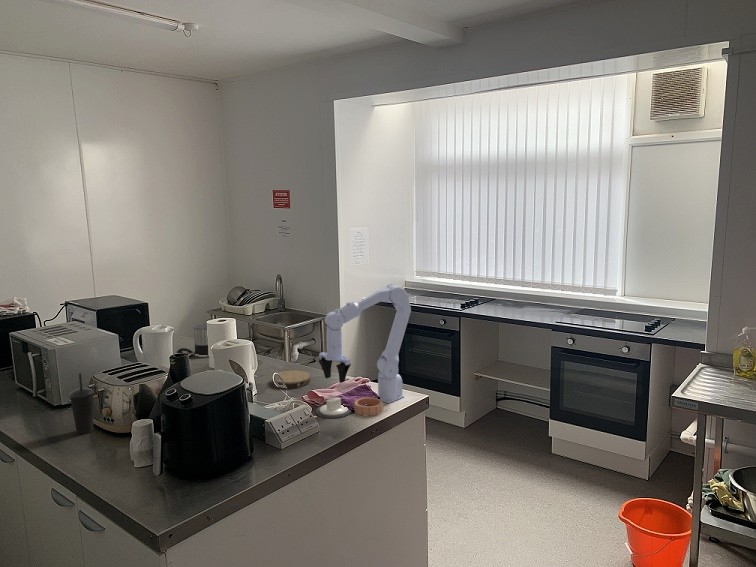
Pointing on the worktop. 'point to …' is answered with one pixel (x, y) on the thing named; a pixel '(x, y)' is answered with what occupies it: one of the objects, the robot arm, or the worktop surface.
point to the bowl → (368, 406)
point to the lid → (333, 407)
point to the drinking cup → (82, 408)
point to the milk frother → (199, 340)
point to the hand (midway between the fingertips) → (335, 379)
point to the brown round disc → (293, 379)
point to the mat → (331, 416)
